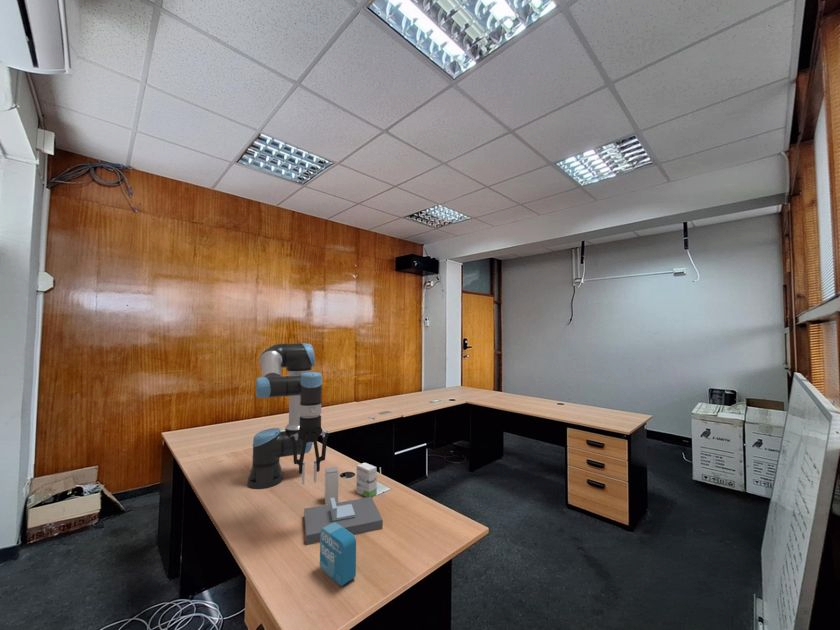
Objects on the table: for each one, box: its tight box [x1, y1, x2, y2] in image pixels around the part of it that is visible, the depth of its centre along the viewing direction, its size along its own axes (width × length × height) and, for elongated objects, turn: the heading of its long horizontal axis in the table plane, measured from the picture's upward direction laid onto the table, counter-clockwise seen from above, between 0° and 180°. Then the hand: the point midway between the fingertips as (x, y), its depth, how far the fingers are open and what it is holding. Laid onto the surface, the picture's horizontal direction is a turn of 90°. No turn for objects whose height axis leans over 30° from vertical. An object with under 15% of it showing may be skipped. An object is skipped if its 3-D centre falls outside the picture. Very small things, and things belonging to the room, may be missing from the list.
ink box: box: [356, 462, 378, 498], centre depth 145 cm, size 9×5×12 cm, turn 49°
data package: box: [319, 522, 357, 587], centre depth 97 cm, size 12×4×12 cm, turn 48°
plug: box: [324, 466, 340, 505], centre depth 139 cm, size 5×5×13 cm
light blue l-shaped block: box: [330, 498, 355, 521], centre depth 123 cm, size 8×8×4 cm
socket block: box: [303, 496, 384, 546], centre depth 123 cm, size 18×26×3 cm
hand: (309, 481), depth 119 cm, fingers open, 3 cm apart
